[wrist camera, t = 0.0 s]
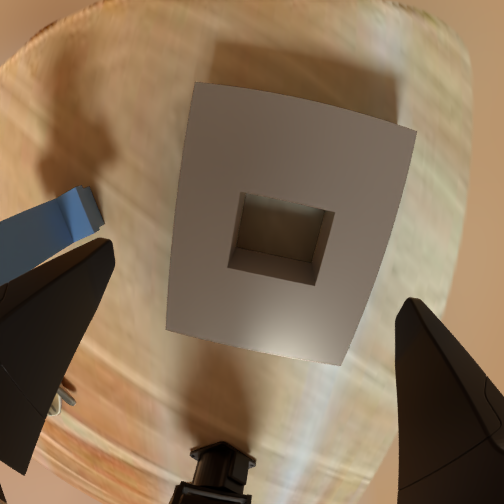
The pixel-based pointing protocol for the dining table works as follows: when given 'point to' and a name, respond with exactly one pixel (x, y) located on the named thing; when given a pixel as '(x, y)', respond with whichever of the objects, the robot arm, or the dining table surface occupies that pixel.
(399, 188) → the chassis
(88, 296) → the robot arm
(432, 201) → the dining table surface
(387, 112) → the dining table surface
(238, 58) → the dining table surface
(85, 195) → the servo
